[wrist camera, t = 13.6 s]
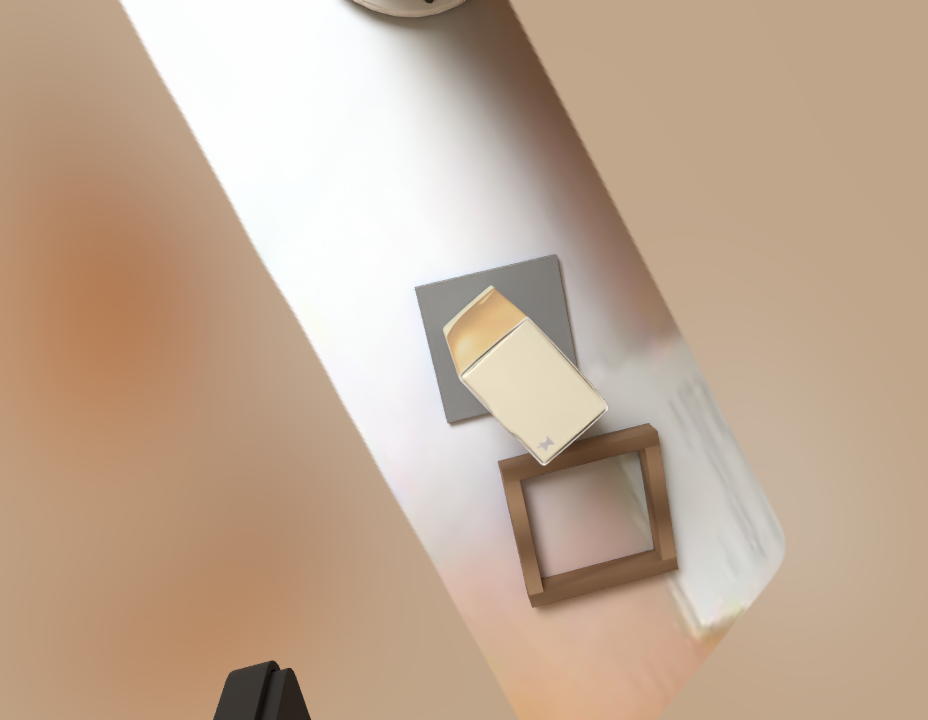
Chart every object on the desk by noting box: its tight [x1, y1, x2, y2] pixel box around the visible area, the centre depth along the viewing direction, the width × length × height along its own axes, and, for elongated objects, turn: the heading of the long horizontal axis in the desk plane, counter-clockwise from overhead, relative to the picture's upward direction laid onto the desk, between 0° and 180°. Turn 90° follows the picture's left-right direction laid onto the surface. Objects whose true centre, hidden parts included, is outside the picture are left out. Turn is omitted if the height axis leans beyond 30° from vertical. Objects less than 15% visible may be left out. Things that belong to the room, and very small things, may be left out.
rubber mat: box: [415, 254, 577, 423], centre depth 42 cm, size 9×9×1 cm
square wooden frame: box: [498, 423, 678, 608], centre depth 45 cm, size 11×11×2 cm
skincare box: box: [443, 285, 608, 466], centre depth 36 cm, size 6×4×12 cm
